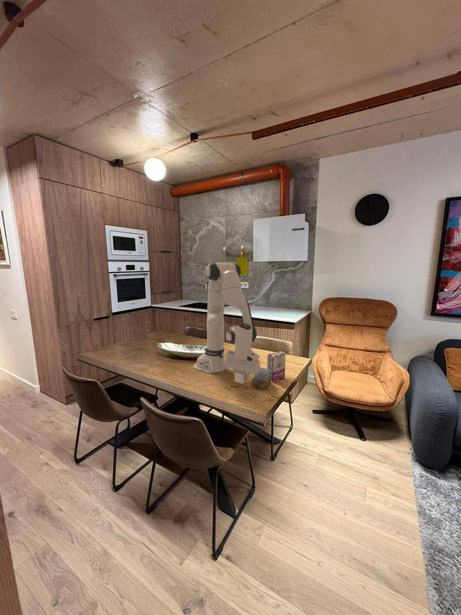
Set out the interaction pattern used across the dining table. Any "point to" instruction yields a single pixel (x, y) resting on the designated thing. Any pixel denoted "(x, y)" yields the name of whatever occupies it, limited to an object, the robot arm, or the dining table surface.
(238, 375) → the cream cube
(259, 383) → the tan wooden block
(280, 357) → the candy bar box
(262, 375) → the grey square block
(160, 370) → the dining table surface
